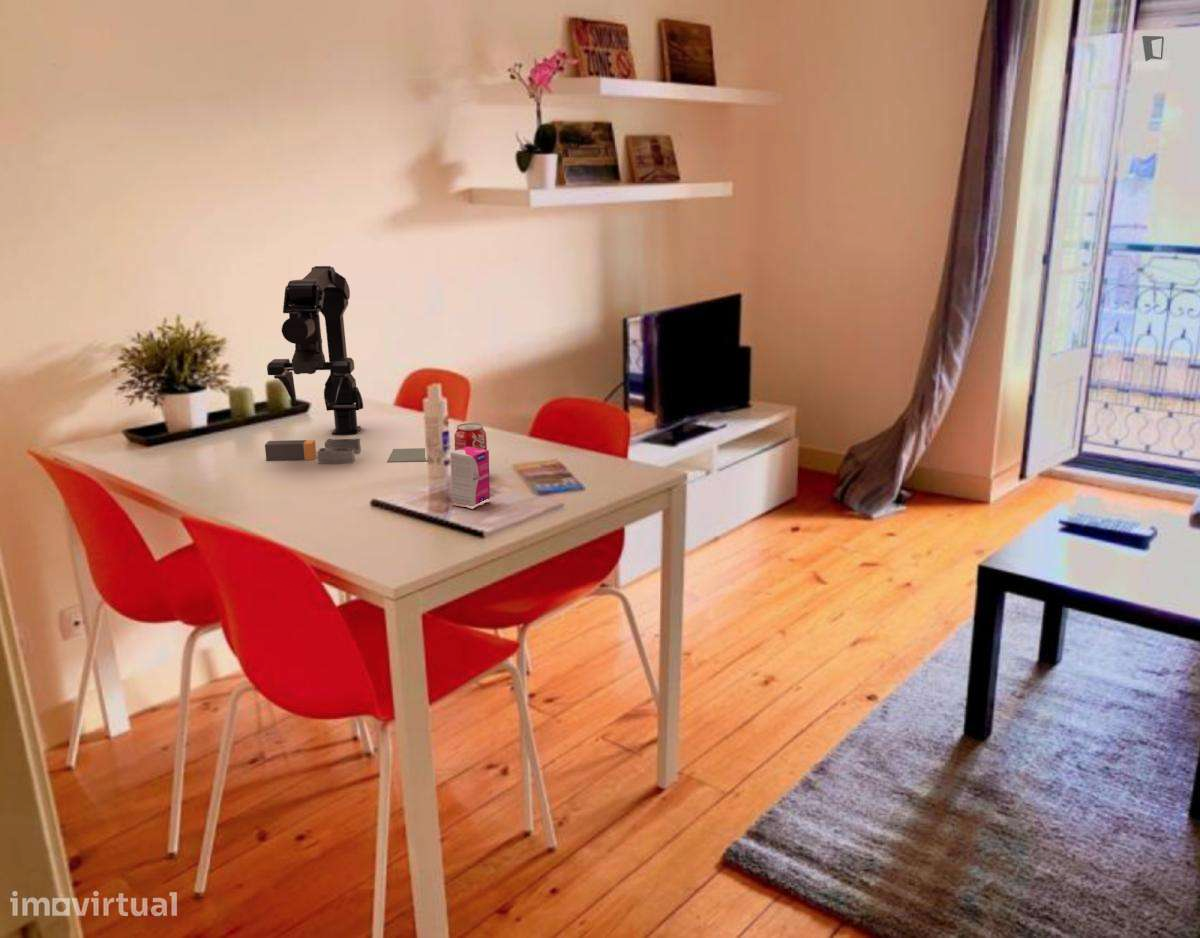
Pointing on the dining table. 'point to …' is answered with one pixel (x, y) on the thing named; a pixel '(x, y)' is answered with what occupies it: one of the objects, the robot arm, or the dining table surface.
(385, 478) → the dining table surface
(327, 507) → the dining table surface
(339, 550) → the dining table surface
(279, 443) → the grey orange block
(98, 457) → the dining table surface
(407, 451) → the mat
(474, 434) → the soda can
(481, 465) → the supplement box
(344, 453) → the housing
